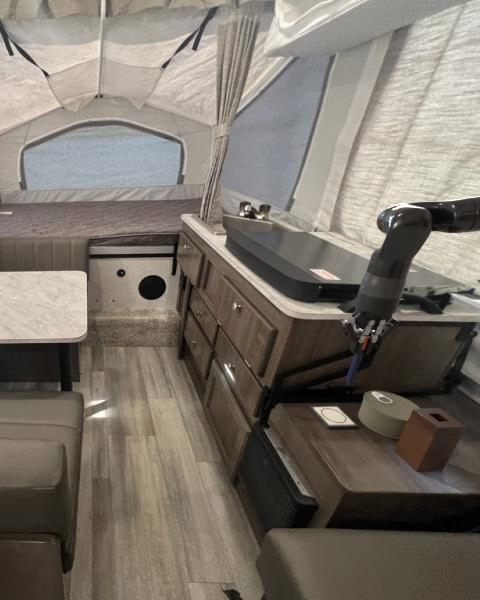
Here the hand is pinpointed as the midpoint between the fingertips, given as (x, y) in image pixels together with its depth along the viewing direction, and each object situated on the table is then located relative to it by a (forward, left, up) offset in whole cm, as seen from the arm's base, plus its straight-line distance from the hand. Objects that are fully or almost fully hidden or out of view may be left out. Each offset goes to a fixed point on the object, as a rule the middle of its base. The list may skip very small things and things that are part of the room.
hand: (359, 352), depth 81 cm
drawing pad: (+1, -1, -23) cm, 23 cm away
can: (-12, -4, -24) cm, 27 cm away
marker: (0, 0, -10) cm, 10 cm away
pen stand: (-15, +8, -23) cm, 29 cm away
